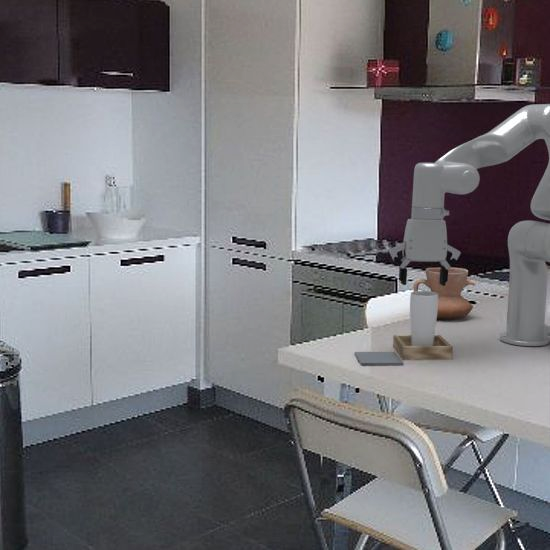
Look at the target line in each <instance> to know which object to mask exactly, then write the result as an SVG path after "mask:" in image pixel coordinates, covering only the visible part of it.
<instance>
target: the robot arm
mask: <svg viewBox="0 0 550 550" xmlns="http://www.w3.org/2000/svg"><path fill="white" fill-rule="evenodd" d="M541 139H542V140H544V142H545V145H546V147H547V152H548V158H549V159H548V163H547V167H546V168H545V171H544V174H543V176H542V177H541V179H540V181H539V183H538V185H537V187H536V190H535V192H534V194H533V197H532V198H531V200H530V212H531V213H532V214H533V215H534V216H535V217H537V218H539V219H542V220H546V221H550V103H545V104H544V103H543V104H542V103H541V104H539V103H538V104H529V105H528V104H527V105H525V106H524V107H521V108H520V109H519V110H517V111H515V112H514V113H512V114H511V115H510V116H508V117H507V118H506V119H505V120H504V121H502V122H500V123H499V124H497V125H496V126H495V127H494V128H492V129H491V130H490V131H488V132H487V133H484V134H483V135H482V134H481V135H479V136H477V137H475V138H473V139H472V140H468V141H467V142H464V143H462V144H460V145H458V146H455V148H453V149H451V150H449V151H448V152H447V153H445V154H444V155H442V156H441V157H440V158H438V159H437V160H436V161H435V162H417V164H415V167H414V170H413V182H412V183H413V185H412V200H411V201H412V202H411V203H412V204H411V214H410V216H411V218H408V219H407V221H406V225H405V229H404V236H403V242H402V243H399V244H398V245H395V246H394V247H392V248H390V249H389V250H388V252H389V254H390V256H391V258H392V261H393V262H394V263H395V264H396V265H397V266H398V267H399V271H398V272H399V273H398V281H399V282H400V284H401V285H403V286H405V285H407V277H408V269H407V266H408V265H409V264H410V263H411V262H427V263H428V262H430V263H433V262H435V263H437V262H439V264H440V265H441V267H439V268H440V280H439V283H440V284H441V285H443V286H445V284H446V282H447V281H448V270H449V269H450V268H452V266H453V265H455V264H456V263H457V260H458V259H459V257H460V256H461V251H460V250H458V249H456V248H455V247H453V246H451V245H450V244H448V233H447V232H448V231H447V225H446V220H444V218H445V217H446V216H450V210H447V209H445V194H446V193H450V194H454V195H466V194H470V193H472V192H474V190H476V189H477V188H478V187H479V184H480V180H481V179H480V174H479V171H478V169H481V168H486V167H490V166H495V165H500V164H502V163H506V162H508V161H510V160H511V159H512V158H514V156H516V155H517V154H519V153H520V152H521V151H523V150H524V149H526V148H527V147H528V146H529V145H531V144H532V143H534V142H535V141H537V140H541ZM507 247H508V248H507V249H508V256H509V279H508V280H509V281H508V297H507V298H508V299H507V312H506V313H507V314H506V315H507V316H506V329H505V331H503V332H501V333H499V340H500V341H502V342H504V343H506V344H510V345H515V346H520V347H521V346H522V347H540V346H541V347H543V346H546V345H549V344H550V326H549V325H547V324H545V320H546V308H547V306H546V305H547V292H548V282H549V281H548V280H549V279H548V277H549V273H548V267H547V264H546V262H548V263H550V223H548V222H543V221H537V220H522V221H518V222H517V223H515V224H514V225H513V226H512V227H511V228H510V230H509V232H508V236H507ZM401 251H402V259H400V258H399V257H398V252H401ZM448 252H449V253H452V255H451V257H450V258H449V259H448V260H447V255H448Z"/></svg>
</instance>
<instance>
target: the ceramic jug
mask: <svg viewBox="0 0 550 550" xmlns="http://www.w3.org/2000/svg"><path fill="white" fill-rule="evenodd" d="M440 268H441V267H427V268H425V275H426V279H425V278H419V279H417V280H416V281H415V282H414V283H413V292H414V291H419V287H420V284H422V285H425V286H426V287H427V288H429V290H430V292H435V293H437V294H438V312H437V320H446V321H447V320H448V321H449V320H458V319H461V318H464V317H466V316H468V315H469V314H470V313H471V311H472V310H473V308H474V304H472V303H471V302H469V300H467V299H466V298H464V296H462V295H461V294H462V292H463V290H464V288H465V287H467V286H469V285H472V286H473V287H475V286H476V283H477V281H475V280H473V279H469V280H468V275H469V270H468V269H466V268H463V267H460V268H459V267H450V269H449V270H448V281H447V282H446V284H445V286H443V285H441V284H440V283H439V280H440Z"/></svg>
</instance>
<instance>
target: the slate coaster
mask: <svg viewBox="0 0 550 550" xmlns="http://www.w3.org/2000/svg"><path fill="white" fill-rule="evenodd" d="M354 356H355V358H356V359H357V361H358V362H359V364H360V365H361V367H363V366H370V367H371V366H376V367H377V366H404V365H405V364H404V363H405V362H404V361H403V359H401V356H400V355H399V354H398V353H397V351H354Z"/></svg>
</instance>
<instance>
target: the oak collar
mask: <svg viewBox="0 0 550 550" xmlns="http://www.w3.org/2000/svg"><path fill="white" fill-rule="evenodd" d="M392 338H393V339H392V340H393V341H392V344H393V345H392V347H393V349H394V350H395V352H396V353H397V355H398V356H399V357H400V358H402V359H401V360H453V352H454V351H453V350H454V347H453V346H452V344H450V343H449V341H447V340H446V339H445V338H444V337H443V336H442V335H441V334H435V335H434V343H433V346H411V334H393V337H392Z"/></svg>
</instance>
